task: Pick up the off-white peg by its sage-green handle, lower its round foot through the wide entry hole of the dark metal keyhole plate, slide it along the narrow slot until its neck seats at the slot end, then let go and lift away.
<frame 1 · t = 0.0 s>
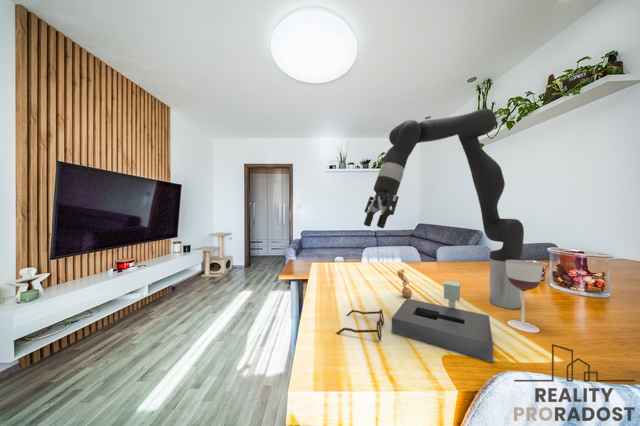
hand: (372, 226, 72), 31 cm above the table, tool tilted 20°, fingers open, 8 cm apart
glasses: (361, 329, 71), on the table
keyhole plate: (440, 331, 68), on the table
wineglass: (523, 326, 71), on the table
figurine: (404, 297, 95), on the table
keyhole peg: (452, 316, 78), on the table
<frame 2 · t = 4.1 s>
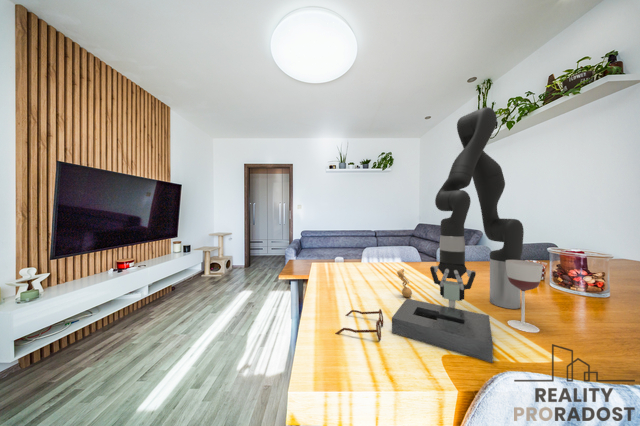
hand: (451, 298, 78), 6 cm above the table, tool pointing down, fingers closed on keyhole peg, 4 cm apart
keyhole peg: (451, 316, 78), on the table, touching gripper
everything else where it was.
when the fingers open (7 cm above the table, at t = 12.4 s): keyhole peg stays where it is, on the table.
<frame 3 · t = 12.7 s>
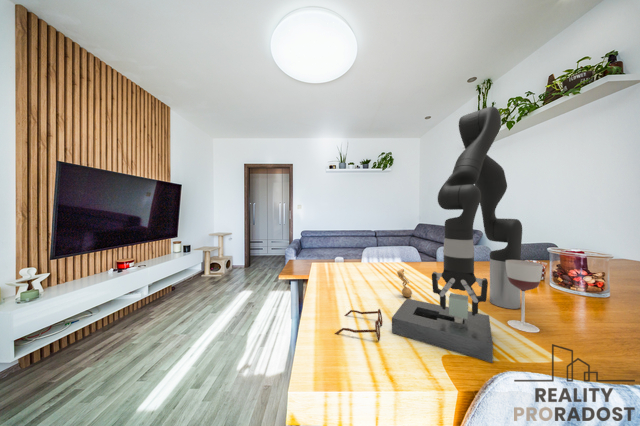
hand: (458, 311, 65), 7 cm above the table, tool pointing down, fingers open, 6 cm apart
keyhole peg: (458, 336, 65), on the table
everything else where it was.
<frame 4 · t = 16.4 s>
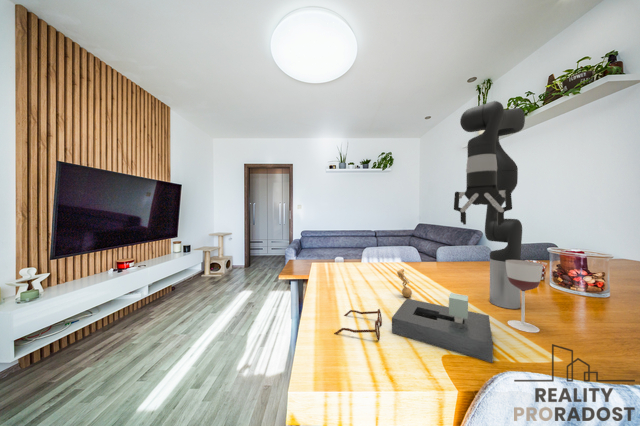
hand: (481, 224, 69), 32 cm above the table, tool pointing down, fingers open, 8 cm apart
nothing on the table moved.
at the end: keyhole peg 0.1 cm from the target spot on the keyhole plate, point 0.0 cm above the keyhole plate's base; keyhole peg tilted 0°; the gripper is holding nothing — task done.
